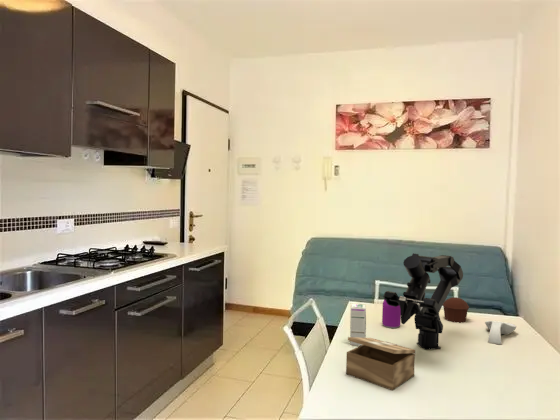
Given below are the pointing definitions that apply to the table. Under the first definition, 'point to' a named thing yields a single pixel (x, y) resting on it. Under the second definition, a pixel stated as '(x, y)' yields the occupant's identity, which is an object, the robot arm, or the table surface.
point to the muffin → (455, 310)
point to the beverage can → (391, 316)
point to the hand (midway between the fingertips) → (402, 323)
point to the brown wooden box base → (380, 366)
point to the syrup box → (357, 322)
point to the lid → (381, 345)
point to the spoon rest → (498, 330)
